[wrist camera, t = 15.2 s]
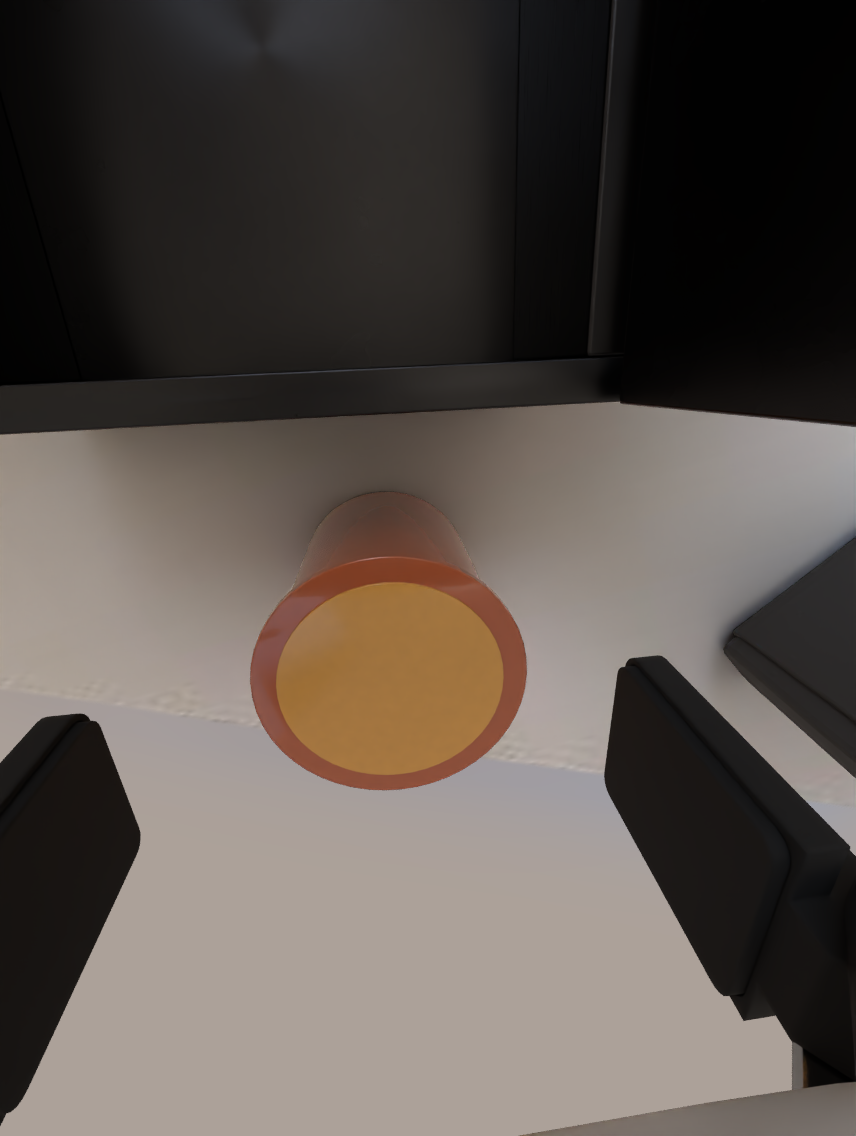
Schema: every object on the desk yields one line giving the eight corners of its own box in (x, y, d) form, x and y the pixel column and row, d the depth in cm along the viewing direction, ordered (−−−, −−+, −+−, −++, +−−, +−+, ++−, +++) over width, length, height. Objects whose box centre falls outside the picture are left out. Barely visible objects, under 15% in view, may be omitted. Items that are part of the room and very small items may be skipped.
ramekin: (285, 488, 17) (223, 569, 10) (472, 477, 18) (533, 546, 11) (309, 651, 20) (273, 805, 13) (473, 637, 20) (523, 779, 13)
